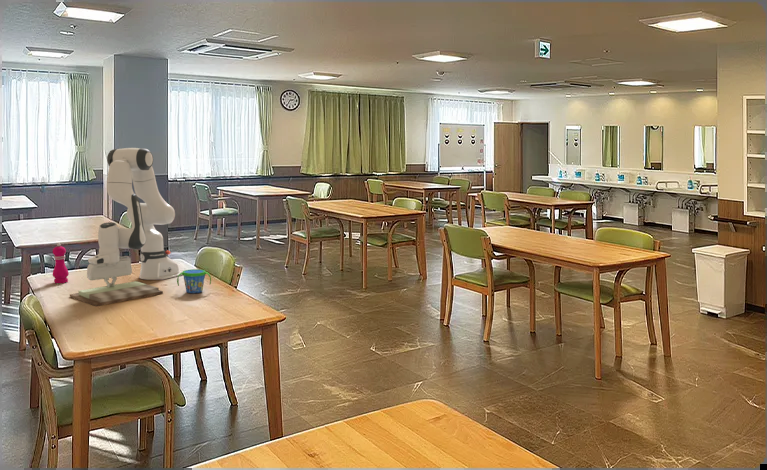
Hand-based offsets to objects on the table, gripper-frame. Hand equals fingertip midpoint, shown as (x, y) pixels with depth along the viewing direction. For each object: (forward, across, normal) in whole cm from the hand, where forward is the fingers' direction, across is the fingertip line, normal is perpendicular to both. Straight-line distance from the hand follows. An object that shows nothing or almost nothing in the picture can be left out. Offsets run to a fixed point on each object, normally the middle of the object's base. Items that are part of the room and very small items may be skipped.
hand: (110, 286), depth 305 cm
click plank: (+2, 0, +2) cm, 3 cm away
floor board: (+3, 0, +5) cm, 6 cm away
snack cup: (+3, -29, +25) cm, 38 cm away
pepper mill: (+3, +5, -42) cm, 42 cm away
